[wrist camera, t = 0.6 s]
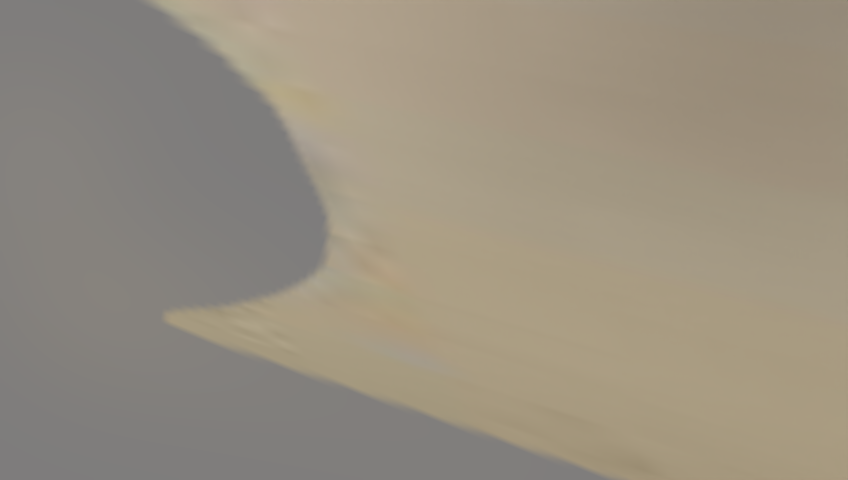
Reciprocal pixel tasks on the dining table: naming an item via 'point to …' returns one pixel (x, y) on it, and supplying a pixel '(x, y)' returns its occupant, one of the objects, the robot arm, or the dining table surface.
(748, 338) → the dining table surface
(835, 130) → the dining table surface
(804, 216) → the dining table surface
